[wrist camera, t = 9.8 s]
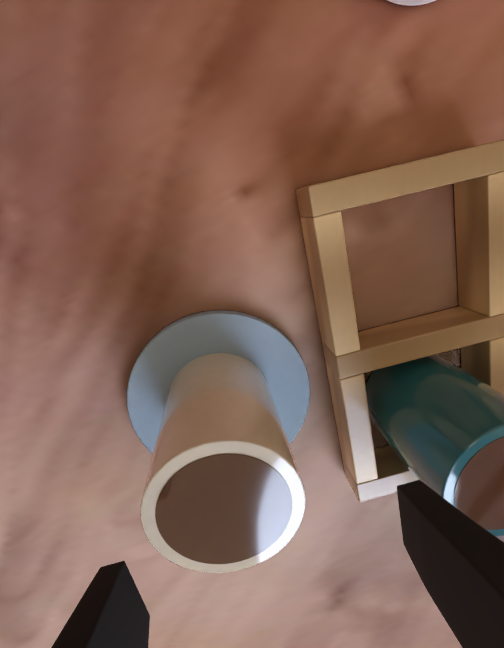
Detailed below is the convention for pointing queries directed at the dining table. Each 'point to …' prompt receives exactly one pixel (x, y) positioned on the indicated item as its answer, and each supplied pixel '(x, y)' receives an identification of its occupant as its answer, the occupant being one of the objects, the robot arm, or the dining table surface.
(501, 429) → the teal cup
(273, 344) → the coaster
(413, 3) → the ring tube bracket
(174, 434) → the cream cup
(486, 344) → the cup holder
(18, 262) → the dining table surface
